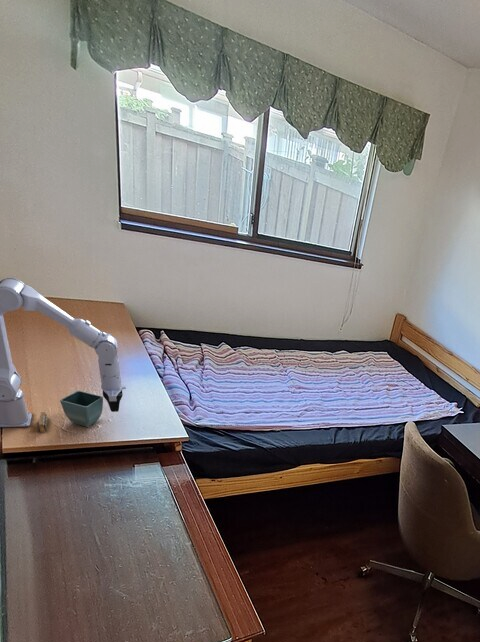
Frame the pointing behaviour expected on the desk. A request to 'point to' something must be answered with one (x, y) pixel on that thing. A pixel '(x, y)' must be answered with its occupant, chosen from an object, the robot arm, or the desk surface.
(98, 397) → the flower pot
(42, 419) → the stop rail
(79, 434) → the desk surface
